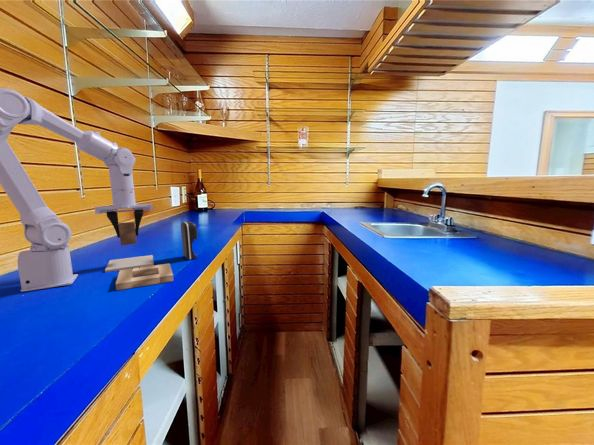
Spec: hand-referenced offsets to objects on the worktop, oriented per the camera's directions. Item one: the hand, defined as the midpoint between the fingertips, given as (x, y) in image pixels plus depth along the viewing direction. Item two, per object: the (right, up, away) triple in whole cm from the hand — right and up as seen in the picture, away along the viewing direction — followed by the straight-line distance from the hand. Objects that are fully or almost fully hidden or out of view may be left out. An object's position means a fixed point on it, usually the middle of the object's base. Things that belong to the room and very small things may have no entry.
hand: (128, 236), depth 88 cm
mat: (0, -8, +1) cm, 8 cm away
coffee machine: (+16, -7, +7) cm, 19 cm away
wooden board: (+12, -10, -13) cm, 20 cm away
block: (0, -2, 0) cm, 2 cm away
